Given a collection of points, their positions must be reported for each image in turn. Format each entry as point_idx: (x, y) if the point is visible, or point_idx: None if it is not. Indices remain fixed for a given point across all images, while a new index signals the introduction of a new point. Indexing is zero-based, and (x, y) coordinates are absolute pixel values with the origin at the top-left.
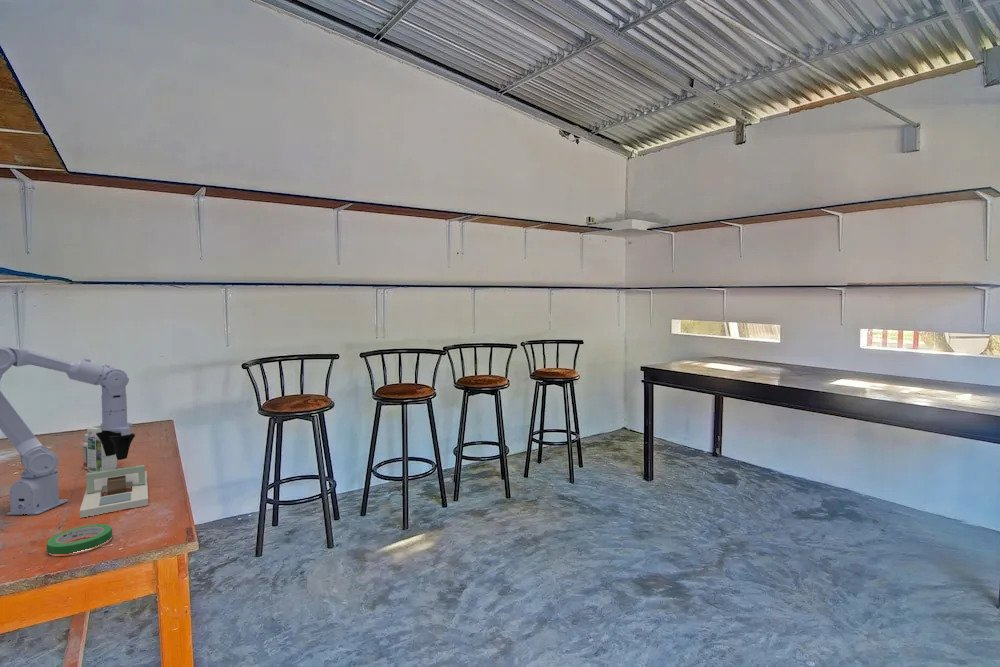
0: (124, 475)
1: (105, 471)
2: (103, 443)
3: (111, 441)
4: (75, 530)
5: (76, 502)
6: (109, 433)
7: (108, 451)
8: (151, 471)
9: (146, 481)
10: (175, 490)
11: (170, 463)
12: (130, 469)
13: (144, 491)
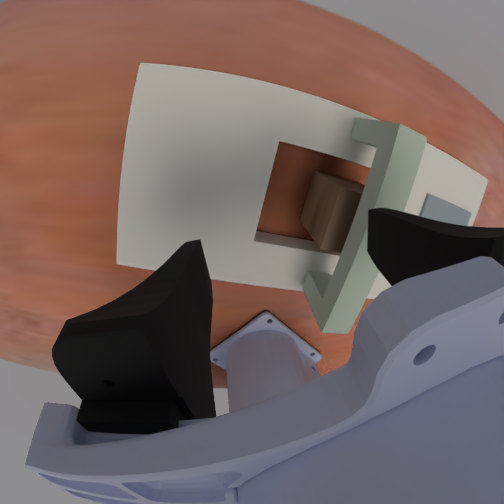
0: (340, 191)
1: (367, 280)
2: (210, 361)
3: (195, 322)
4: None
5: (293, 295)
6: (195, 400)
7: (207, 291)
8: (69, 50)
9: (336, 105)
10: (421, 66)
11: (23, 2)
12: (406, 191)
13: (441, 160)
